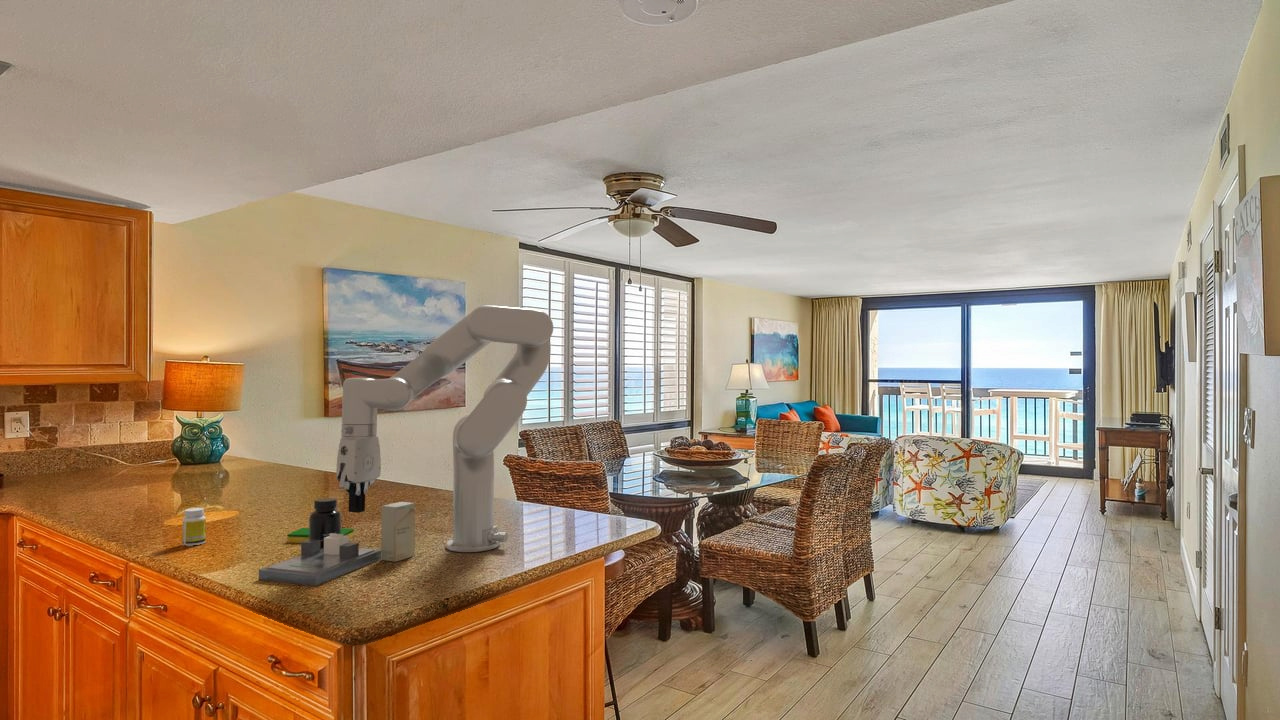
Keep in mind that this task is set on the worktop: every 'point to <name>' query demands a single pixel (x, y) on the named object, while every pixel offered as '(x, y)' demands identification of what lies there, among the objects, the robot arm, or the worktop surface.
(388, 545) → the skincare box
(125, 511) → the worktop surface
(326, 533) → the supplement bottle
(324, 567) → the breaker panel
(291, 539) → the dish sponge
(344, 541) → the block
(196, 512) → the supplement bottle
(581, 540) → the worktop surface
